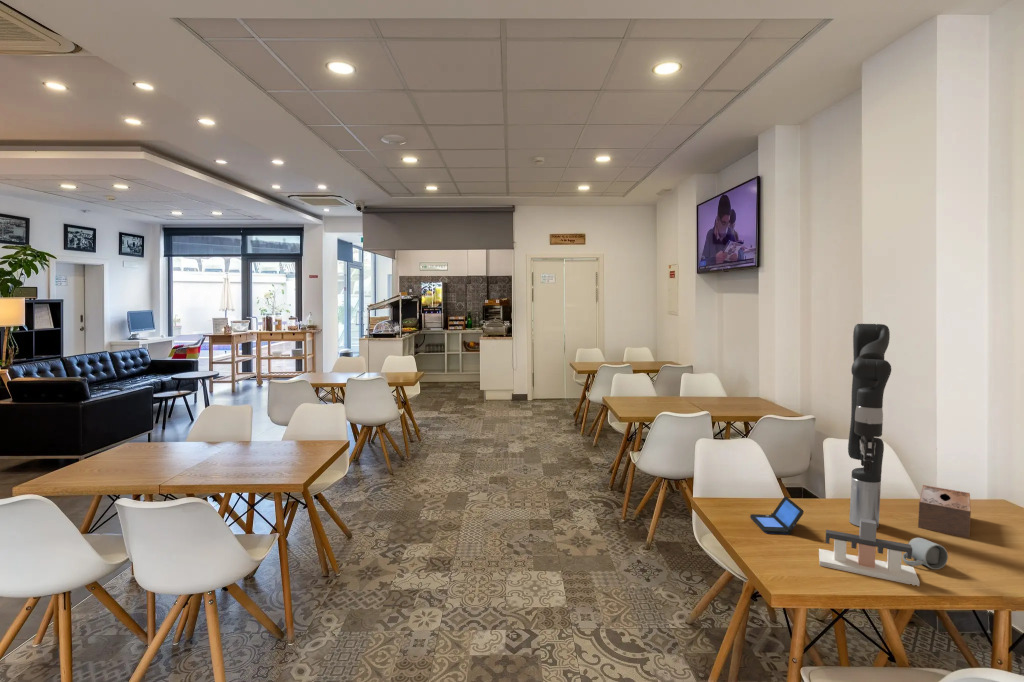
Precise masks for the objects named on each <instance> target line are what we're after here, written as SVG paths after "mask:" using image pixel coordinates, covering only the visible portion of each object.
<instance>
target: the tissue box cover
mask: <svg viewBox="0 0 1024 682" xmlns="http://www.w3.org/2000/svg"><path fill="white" fill-rule="evenodd" d="M919 497H920V498H919V504H918V518H917V519H918V520H917V521H918V522H917V527H918V528H920V529H924V530H927V531H933V532H938V533H941V534H942V533H943V534H946V535H947V534H948V535H951V536H956V537H961V538H965V539H970V535H971V534H970V533H971V532H970V530H971V514H972V513H971V512H972V511H971V509H972V507H971V494H970V492H966V491H961V490H960V491H959V490H954V489H949V488H942V487H937V486H930V485H924V484H923V485H922V488H921V493H920V496H919Z"/></svg>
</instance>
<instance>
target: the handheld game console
mask: <svg viewBox="0 0 1024 682" xmlns="http://www.w3.org/2000/svg"><path fill="white" fill-rule="evenodd" d="M803 515H804V510H803V508H801V507H800V506H799V505H797V504H796V503H795V502H794V501H793V500H792V499H790V498H789V497H788V496H784V497H783V498H781V500H780V502H779V503H778V505H777V506H776V507H775V509H774V511H773V512H771V514H759V513H758V514H757V513H756V514H755V513H754V514H753V513H752V514H751V513H750V514H749V518H750V519H751V520H752V522H753V523H754V524H756V525H757V527H759V529H760V530H761V531H762V532H763V533H765V534H771V535H772V534H773V535H774V534H775V535H776V534H777V535H792V530H793V528H795V527H796V525H797V523H798V522H799V521H800V519H801V518H802V517H803Z"/></svg>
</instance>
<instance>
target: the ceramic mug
mask: <svg viewBox="0 0 1024 682" xmlns="http://www.w3.org/2000/svg"><path fill="white" fill-rule="evenodd" d="M907 544H910V545H911V547H912V559H914V560H908V559H907V557H906V552H903V553H902V560H903V562H904V563H905V564H906V565H907V566H911V567H917V566H920V565H921V566H922V565H924V566H926V567H928V568H929V569H931V570H940V569H943V568H944V567H945V566H946V565H947V562H948V560H949V559H948V558H949V555H948V551H947V550H946V547H944V546H943V545H941V544H938V543H936V542H934V541H930V540H928V539H925V538H922V537H913V538H911V539H910V540H909V542H908V543H907Z"/></svg>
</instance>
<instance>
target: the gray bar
mask: <svg viewBox="0 0 1024 682" xmlns="http://www.w3.org/2000/svg"><path fill="white" fill-rule="evenodd" d="M877 529H878V528H877V524H876V521H874V520H868V519H862V518H860V527H859V534H853V533H849V532H841V531H835V530H830V529H826V530H825V543H826V544H828V545H830V539H831V540H834V539H837V540H842V541H847V542H849V543H851V544H850V546H851V547H850V548H851V549H855V550H856V549H857V544H858V545H859V544H864V545H869V546H875V547H876V548H877V549H876V550H877V553H878V554H882V555H883V554H884V549H886V550H888V549H891V550H896V551H902V553H906V557H907V558H906V560H912V559H913V558H912V547H911V545H910V544H908V543H904V542H897V541H893V540H887V539H882V538H877Z"/></svg>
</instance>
